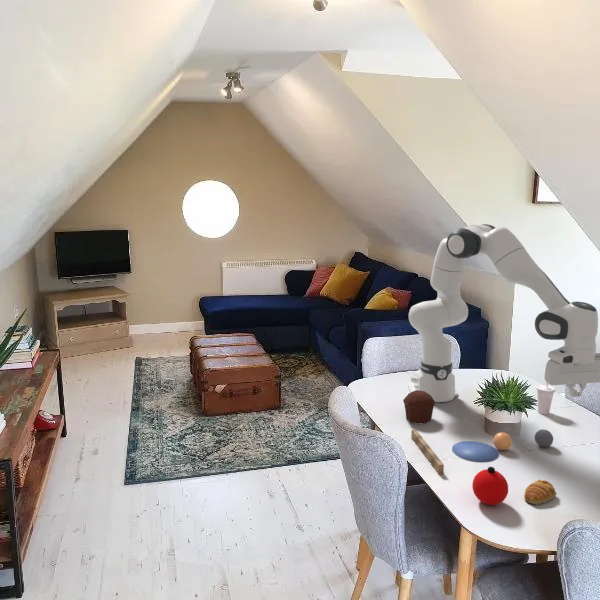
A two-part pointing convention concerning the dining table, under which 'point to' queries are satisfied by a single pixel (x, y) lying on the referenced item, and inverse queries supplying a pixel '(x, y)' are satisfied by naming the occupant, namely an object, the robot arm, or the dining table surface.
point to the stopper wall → (427, 452)
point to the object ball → (502, 441)
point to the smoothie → (544, 398)
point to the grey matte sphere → (543, 438)
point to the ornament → (490, 486)
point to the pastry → (539, 492)
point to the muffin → (419, 407)
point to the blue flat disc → (475, 451)
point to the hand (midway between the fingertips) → (575, 396)
